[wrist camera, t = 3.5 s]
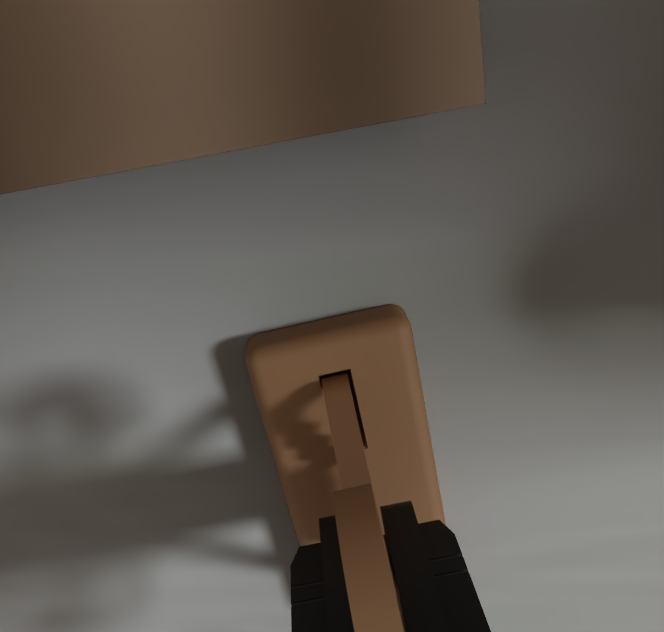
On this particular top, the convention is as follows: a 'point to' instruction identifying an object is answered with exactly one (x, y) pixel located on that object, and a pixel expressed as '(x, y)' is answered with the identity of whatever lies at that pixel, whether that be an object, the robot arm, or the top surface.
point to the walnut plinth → (216, 76)
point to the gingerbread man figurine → (349, 440)
